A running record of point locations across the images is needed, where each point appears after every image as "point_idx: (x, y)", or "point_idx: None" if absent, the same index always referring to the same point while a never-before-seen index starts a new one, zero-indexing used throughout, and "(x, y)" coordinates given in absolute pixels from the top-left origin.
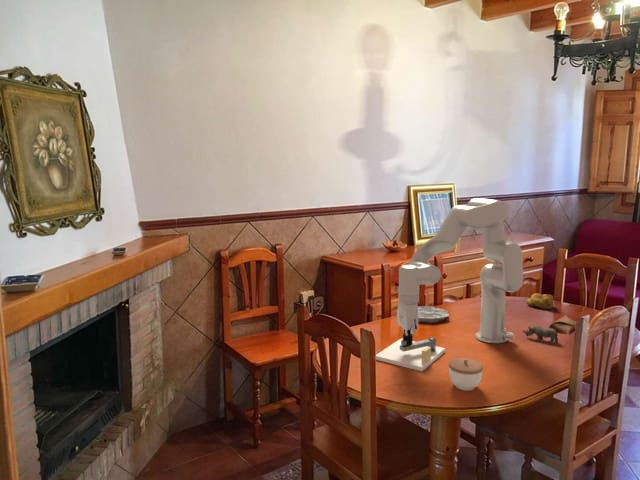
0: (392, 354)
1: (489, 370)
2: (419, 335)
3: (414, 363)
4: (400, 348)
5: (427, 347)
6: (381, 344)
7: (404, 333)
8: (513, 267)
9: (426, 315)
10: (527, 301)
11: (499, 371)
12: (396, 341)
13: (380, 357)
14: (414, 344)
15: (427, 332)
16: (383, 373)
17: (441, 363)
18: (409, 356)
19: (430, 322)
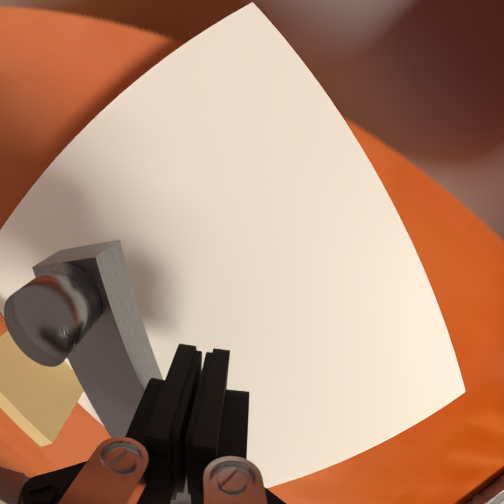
0: (215, 176)
1: (31, 463)
2: (442, 463)
3: (13, 262)
4: (98, 248)
5: (31, 429)
6: (499, 242)
7: (209, 471)
8: None
9: (500, 498)
10: None
11: (29, 471)
12: (452, 351)
13: (198, 36)
14: (104, 410)
15: (438, 486)
16: (22, 23)
17: (75, 408)
18: None
19: (477, 495)
